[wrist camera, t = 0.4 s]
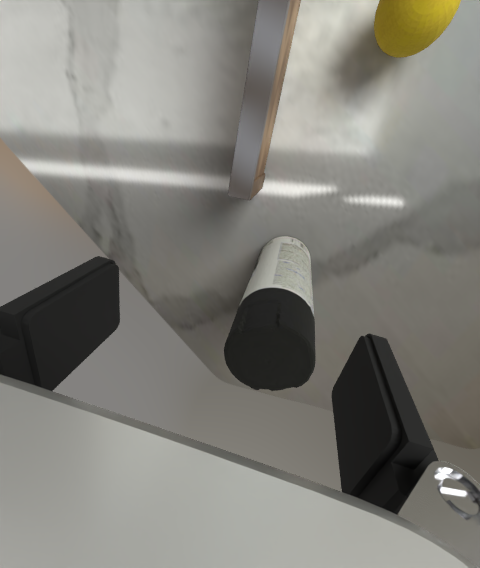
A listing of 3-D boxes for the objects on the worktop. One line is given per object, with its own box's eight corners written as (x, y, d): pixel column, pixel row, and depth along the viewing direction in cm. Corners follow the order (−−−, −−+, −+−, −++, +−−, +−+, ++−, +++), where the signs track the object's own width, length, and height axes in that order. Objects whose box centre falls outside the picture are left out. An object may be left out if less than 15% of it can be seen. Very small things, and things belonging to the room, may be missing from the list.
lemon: (417, -33, 23) (466, -112, 16) (446, 32, 24) (503, -14, 17) (354, 26, 25) (373, -20, 18) (383, 82, 26) (411, 60, 19)
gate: (291, -57, 23) (283, -166, 15) (314, -54, 23) (319, -162, 15) (246, 184, 33) (226, 197, 25) (262, 187, 33) (247, 202, 24)
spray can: (255, 240, 36) (208, 328, 19) (306, 229, 34) (307, 317, 17) (266, 284, 39) (234, 398, 21) (315, 276, 37) (323, 395, 19)
